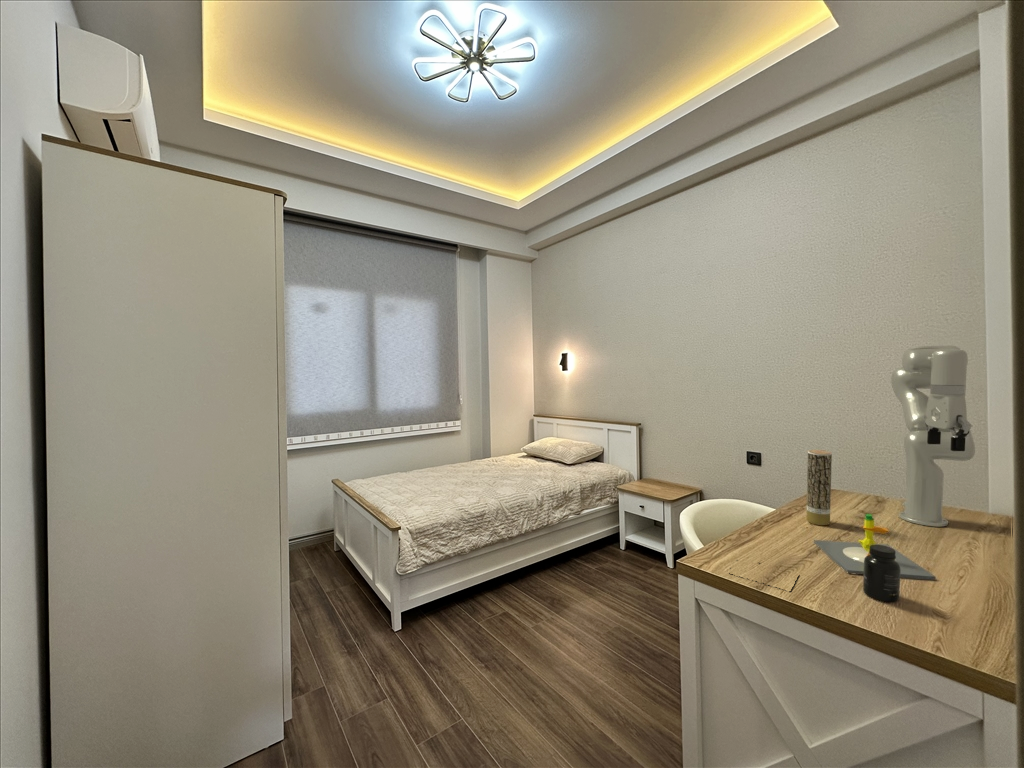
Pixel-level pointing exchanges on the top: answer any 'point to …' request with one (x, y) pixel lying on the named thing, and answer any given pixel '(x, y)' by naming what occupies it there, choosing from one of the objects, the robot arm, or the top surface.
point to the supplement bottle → (881, 574)
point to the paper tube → (819, 487)
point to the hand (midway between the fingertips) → (945, 447)
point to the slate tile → (854, 555)
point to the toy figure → (870, 533)
